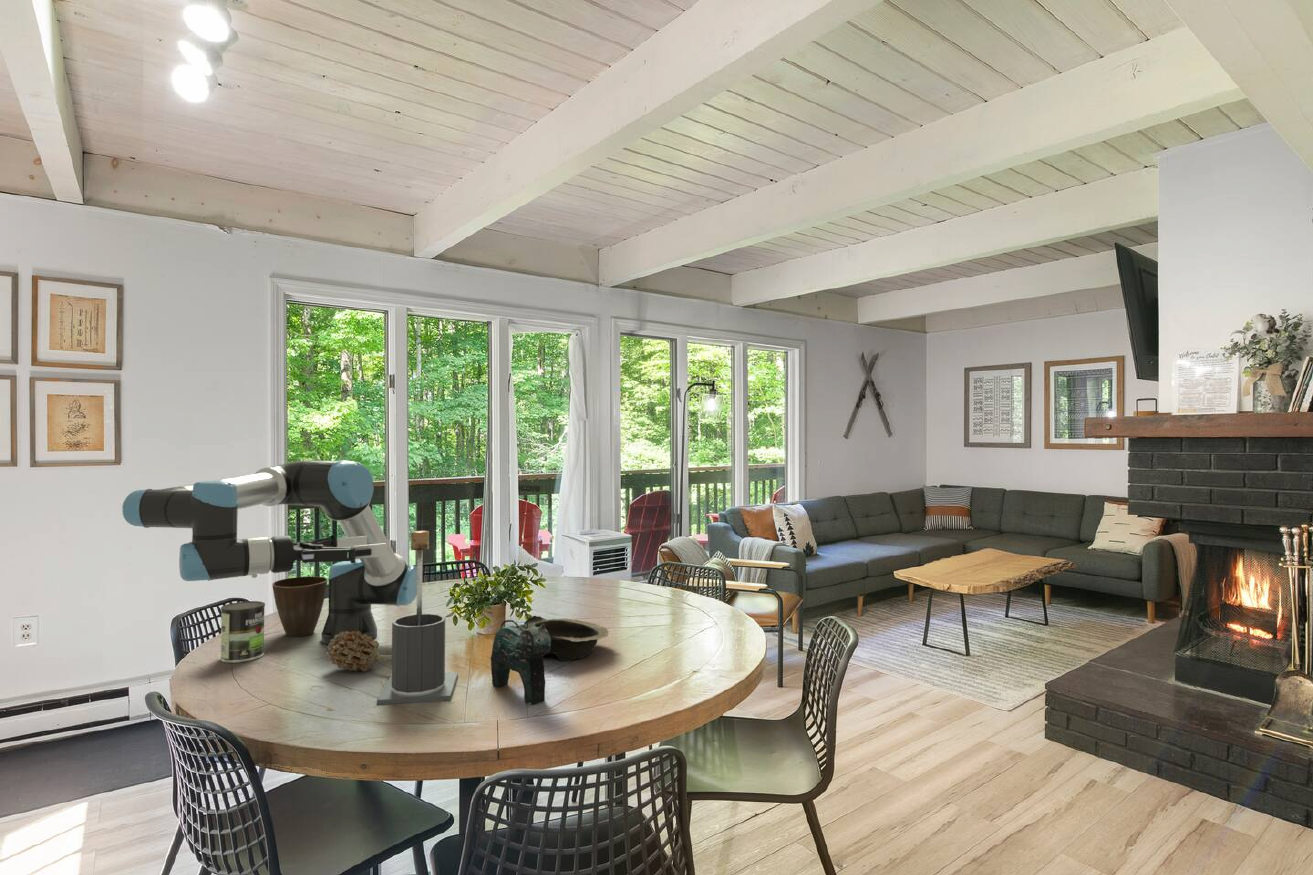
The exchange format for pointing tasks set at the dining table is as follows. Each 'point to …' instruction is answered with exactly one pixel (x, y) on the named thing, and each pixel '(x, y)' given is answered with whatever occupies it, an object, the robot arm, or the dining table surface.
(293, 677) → the dining table surface
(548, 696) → the dining table surface
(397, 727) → the dining table surface
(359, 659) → the pine cone
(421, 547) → the plunger
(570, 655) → the stone bowl
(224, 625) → the coffee can
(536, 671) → the dark animal figurine
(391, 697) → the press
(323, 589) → the plant pot
